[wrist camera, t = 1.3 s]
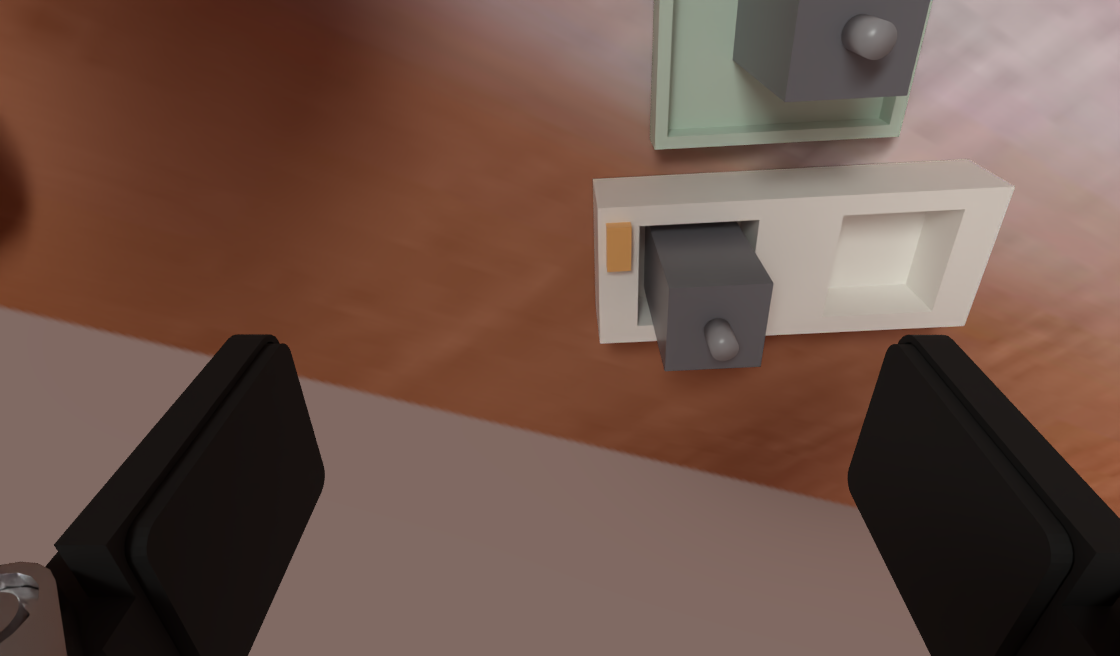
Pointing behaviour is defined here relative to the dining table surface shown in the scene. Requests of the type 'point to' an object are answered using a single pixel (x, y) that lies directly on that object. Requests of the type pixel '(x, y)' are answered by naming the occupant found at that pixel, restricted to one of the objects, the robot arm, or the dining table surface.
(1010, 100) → the dining table surface
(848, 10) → the plug
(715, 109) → the tray
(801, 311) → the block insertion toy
